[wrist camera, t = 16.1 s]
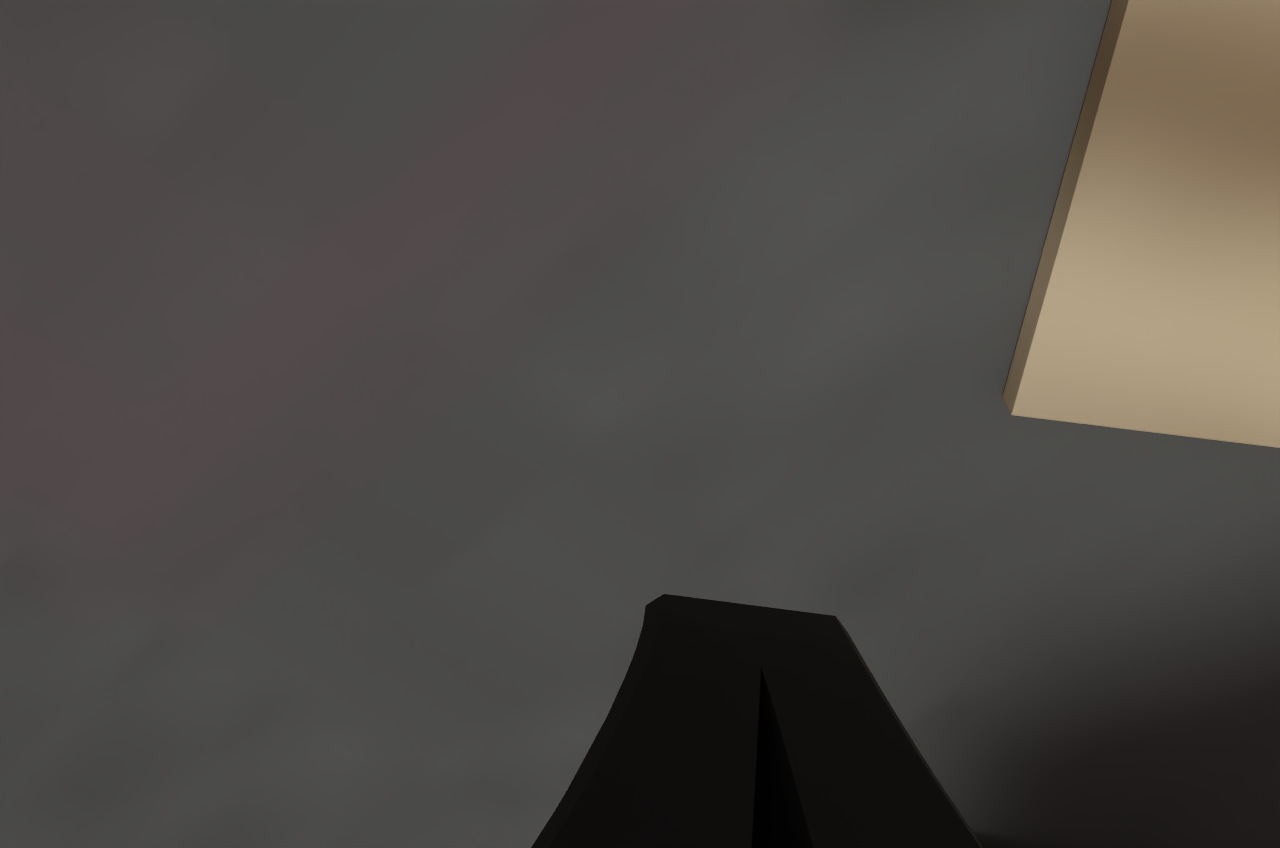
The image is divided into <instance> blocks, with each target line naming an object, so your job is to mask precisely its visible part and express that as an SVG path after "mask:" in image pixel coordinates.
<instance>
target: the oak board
mask: <svg viewBox="0 0 1280 848" xmlns="http://www.w3.org/2000/svg"><path fill="white" fill-rule="evenodd" d="M1002 397H1003V399H1004V401H1005V403H1006V405H1007V407H1008V409H1009V411H1010V413H1011V415H1016V416H1024V417H1033V418H1041V419H1049V420H1057V421H1065V422H1073V423H1082V424H1090V425H1098V426H1106V427H1114V428H1122V429H1131V430H1139V431H1147V432H1155V433H1163V434H1171V435H1180V436H1188V437H1196V438H1204V439H1212V440H1221V441H1229V442H1237V443H1245V444H1253V445H1261V446H1270V447H1278V448H1280V0H1112V3H1111V6H1110V10H1109V13H1108V17H1107V21H1106V24H1105V28H1104V31H1103V35H1102V39H1101V42H1100V46H1099V50H1098V53H1097V57H1096V60H1095V64H1094V68H1093V71H1092V75H1091V78H1090V82H1089V86H1088V89H1087V93H1086V97H1085V100H1084V104H1083V107H1082V111H1081V115H1080V118H1079V122H1078V125H1077V129H1076V133H1075V136H1074V140H1073V144H1072V147H1071V151H1070V154H1069V158H1068V162H1067V165H1066V169H1065V172H1064V176H1063V180H1062V183H1061V187H1060V190H1059V194H1058V198H1057V201H1056V205H1055V209H1054V212H1053V216H1052V219H1051V223H1050V227H1049V230H1048V234H1047V237H1046V241H1045V245H1044V248H1043V252H1042V256H1041V259H1040V263H1039V266H1038V270H1037V274H1036V277H1035V281H1034V284H1033V288H1032V292H1031V295H1030V299H1029V302H1028V306H1027V310H1026V313H1025V317H1024V321H1023V324H1022V328H1021V331H1020V335H1019V339H1018V342H1017V346H1016V349H1015V353H1014V357H1013V360H1012V364H1011V368H1010V371H1009V375H1008V378H1007V382H1006V386H1005V389H1004V393H1003V396H1002Z"/></svg>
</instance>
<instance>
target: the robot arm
mask: <svg viewBox="0 0 1280 848" xmlns="http://www.w3.org/2000/svg"><path fill="white" fill-rule="evenodd" d="M531 848H984V847H983V846H982V844H981V843H980V841H979V840H978V838H977V837H976V836H975V834H974V833H973V831H972V830H971V828H970V827H969V825H968V824H967V822H966V821H965V819H964V818H963V817H962V815H961V814H960V812H959V811H958V809H957V808H956V806H955V805H954V803H953V802H952V801H951V799H950V798H949V796H948V795H947V793H946V792H945V790H944V789H943V787H942V786H941V784H940V783H939V781H938V780H937V778H936V776H935V775H934V773H933V772H932V770H931V769H930V767H929V766H928V764H927V763H926V761H925V760H924V758H923V756H922V755H921V753H920V752H919V750H918V748H917V747H916V745H915V744H914V742H913V740H912V739H911V737H910V736H909V734H908V732H907V731H906V729H905V728H904V726H903V724H902V723H901V721H900V720H899V718H898V716H897V715H896V713H895V712H894V710H893V708H892V707H891V705H890V703H889V702H888V700H887V698H886V697H885V695H884V693H883V692H882V690H881V688H880V687H879V685H878V683H877V682H876V680H875V678H874V677H873V675H872V673H871V672H870V670H869V668H868V666H867V665H866V663H865V661H864V660H863V658H862V656H861V655H860V653H859V651H858V649H857V648H856V646H855V644H854V643H853V641H852V639H851V637H850V636H849V634H848V632H847V631H846V630H845V628H844V627H843V626H842V624H841V623H840V622H839V620H838V619H837V618H836V616H831V615H823V614H815V613H807V612H800V611H792V610H784V609H776V608H769V607H761V606H753V605H745V604H738V603H730V602H722V601H714V600H707V599H699V598H691V597H683V596H676V595H668V594H663V595H662V596H660V597H658V598H657V599H655V600H654V601H652V602H651V603H649V604H647V605H646V608H645V615H644V622H643V627H642V631H641V634H640V638H639V641H638V644H637V647H636V650H635V653H634V656H633V659H632V661H631V664H630V666H629V669H628V671H627V674H626V676H625V678H624V681H623V683H622V685H621V687H620V689H619V692H618V694H617V696H616V698H615V700H614V703H613V705H612V707H611V709H610V711H609V714H608V716H607V718H606V720H605V721H604V723H603V725H602V727H601V729H600V731H599V732H598V734H597V736H596V738H595V740H594V742H593V744H592V745H591V747H590V749H589V751H588V753H587V755H586V757H585V758H584V760H583V762H582V764H581V766H580V768H579V770H578V771H577V773H576V775H575V777H574V779H573V781H572V782H571V784H570V786H569V788H568V790H567V791H566V793H565V795H564V797H563V798H562V800H561V802H560V803H559V805H558V807H557V808H556V810H555V812H554V813H553V815H552V816H551V818H550V819H549V821H548V823H547V824H546V826H545V827H544V829H543V830H542V832H541V833H540V835H539V836H538V838H537V840H536V841H535V843H534V844H533V846H532V847H531Z"/></svg>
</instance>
